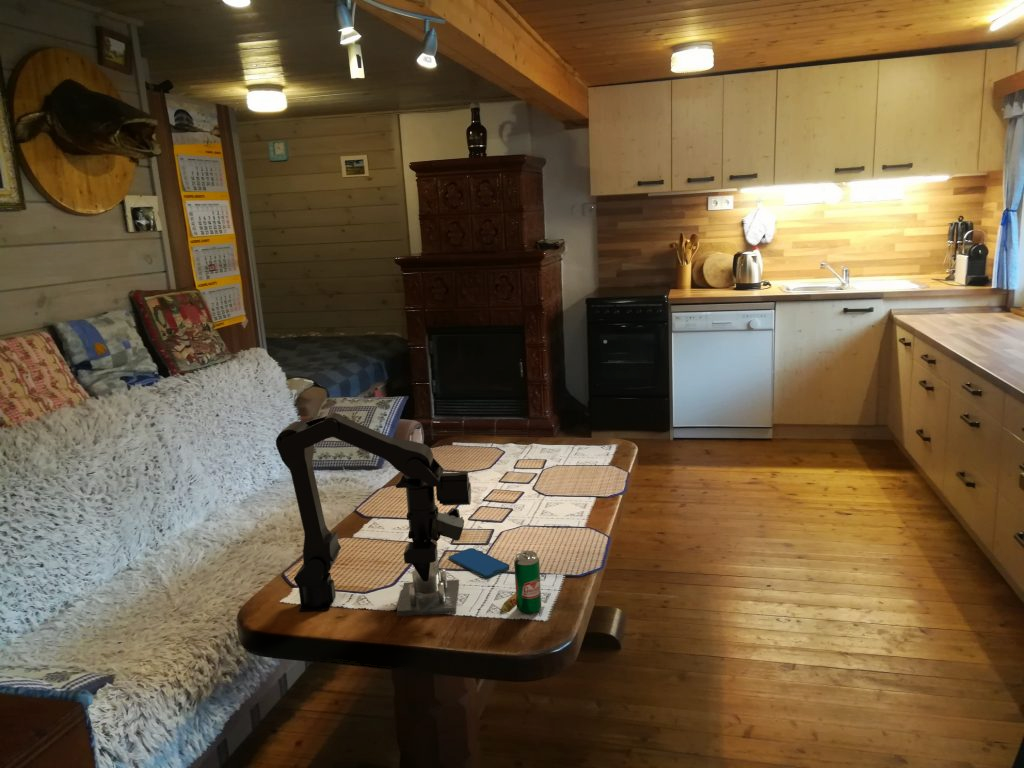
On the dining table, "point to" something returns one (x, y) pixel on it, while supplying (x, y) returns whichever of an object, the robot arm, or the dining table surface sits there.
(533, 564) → the soda can
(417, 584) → the canister
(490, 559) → the smartphone
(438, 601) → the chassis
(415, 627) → the dining table surface
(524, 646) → the dining table surface
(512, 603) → the chocolate bar
